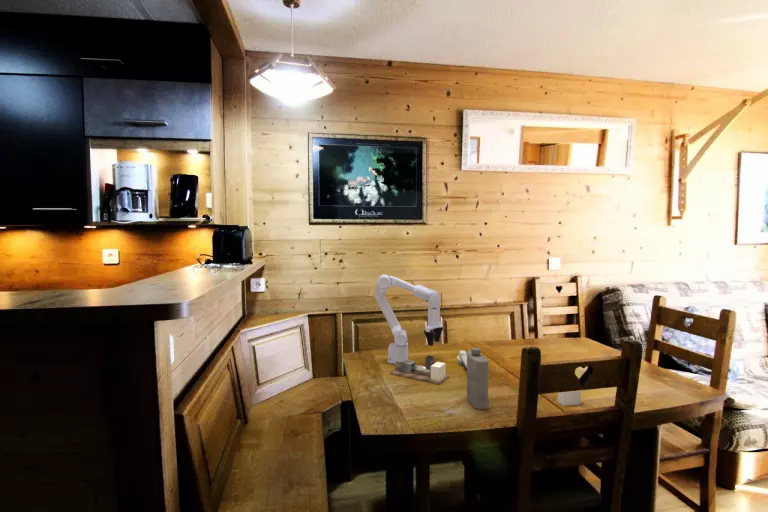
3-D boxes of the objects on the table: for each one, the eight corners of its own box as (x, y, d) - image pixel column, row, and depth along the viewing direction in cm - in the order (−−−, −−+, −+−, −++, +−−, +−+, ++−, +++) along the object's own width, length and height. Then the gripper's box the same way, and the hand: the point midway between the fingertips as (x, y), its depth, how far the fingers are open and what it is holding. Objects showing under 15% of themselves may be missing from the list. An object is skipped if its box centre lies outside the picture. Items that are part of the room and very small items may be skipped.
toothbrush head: (470, 371, 168) (456, 347, 192) (469, 386, 169) (455, 360, 194) (482, 371, 168) (466, 347, 193) (481, 385, 170) (466, 359, 194)
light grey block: (580, 404, 144) (581, 377, 143) (563, 405, 143) (564, 378, 142) (574, 400, 147) (574, 374, 147) (557, 401, 146) (558, 375, 146)
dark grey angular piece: (407, 371, 175) (407, 354, 175) (410, 369, 177) (410, 352, 177) (436, 376, 168) (436, 359, 167) (439, 374, 170) (439, 357, 170)
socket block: (430, 379, 167) (430, 366, 167) (437, 374, 173) (437, 361, 173) (439, 380, 165) (439, 367, 165) (445, 375, 171) (445, 363, 171)
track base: (390, 374, 176) (390, 362, 175) (401, 367, 184) (400, 356, 184) (440, 384, 163) (440, 372, 163) (449, 377, 172) (449, 365, 171)
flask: (463, 393, 154) (464, 343, 153) (478, 393, 155) (478, 343, 154) (473, 410, 139) (473, 354, 138) (489, 409, 140) (490, 354, 139)
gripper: (435, 319, 182) (435, 348, 183) (447, 314, 195) (447, 341, 195) (421, 318, 186) (421, 346, 187) (434, 312, 198) (434, 339, 199)
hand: (433, 343), depth 191 cm, fingers open, 7 cm apart
